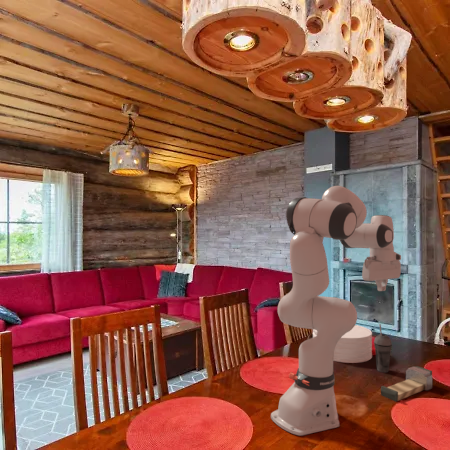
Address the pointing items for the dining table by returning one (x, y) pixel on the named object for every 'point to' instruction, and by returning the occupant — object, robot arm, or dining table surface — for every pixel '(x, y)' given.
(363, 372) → the dining table surface
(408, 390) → the rail
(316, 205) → the robot arm
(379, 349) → the beverage cup
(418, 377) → the block
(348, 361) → the plate stack
